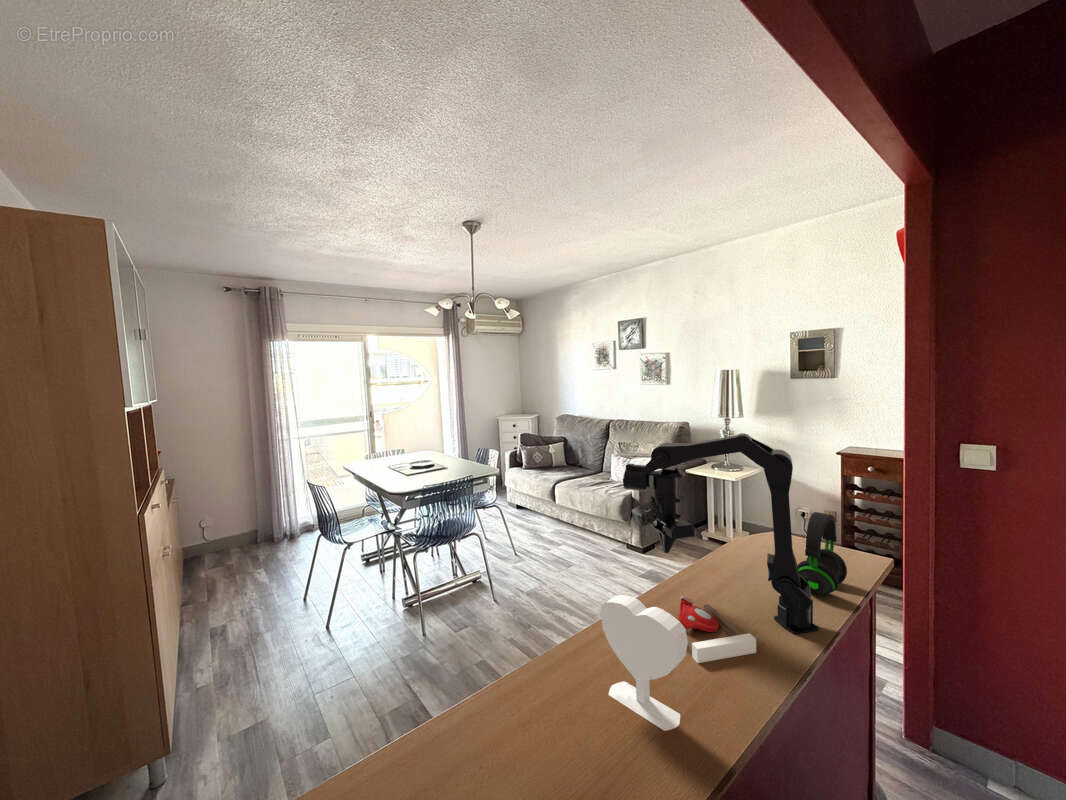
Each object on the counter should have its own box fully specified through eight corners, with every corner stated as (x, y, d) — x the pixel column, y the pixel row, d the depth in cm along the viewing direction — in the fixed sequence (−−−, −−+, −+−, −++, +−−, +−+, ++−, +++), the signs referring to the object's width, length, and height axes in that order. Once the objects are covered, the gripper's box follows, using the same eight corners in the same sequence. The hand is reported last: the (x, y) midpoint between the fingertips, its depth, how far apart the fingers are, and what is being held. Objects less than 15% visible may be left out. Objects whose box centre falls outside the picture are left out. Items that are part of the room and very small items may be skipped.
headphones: (850, 584, 118) (851, 511, 117) (833, 606, 108) (833, 526, 107) (810, 573, 125) (811, 503, 124) (790, 592, 115) (790, 517, 114)
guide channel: (708, 610, 108) (708, 598, 108) (756, 652, 92) (756, 638, 92) (657, 617, 106) (657, 605, 106) (697, 663, 89) (697, 648, 89)
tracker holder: (729, 622, 102) (703, 627, 96) (722, 639, 102) (696, 645, 96) (686, 589, 111) (661, 592, 106) (680, 605, 112) (655, 609, 106)
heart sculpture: (691, 720, 75) (689, 617, 74) (675, 737, 71) (674, 630, 70) (616, 676, 86) (614, 586, 85) (599, 689, 83) (597, 596, 82)
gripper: (621, 486, 121) (622, 542, 122) (652, 506, 103) (653, 572, 104) (659, 483, 123) (659, 538, 124) (696, 502, 105) (697, 566, 106)
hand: (666, 552), depth 114 cm, fingers closed
